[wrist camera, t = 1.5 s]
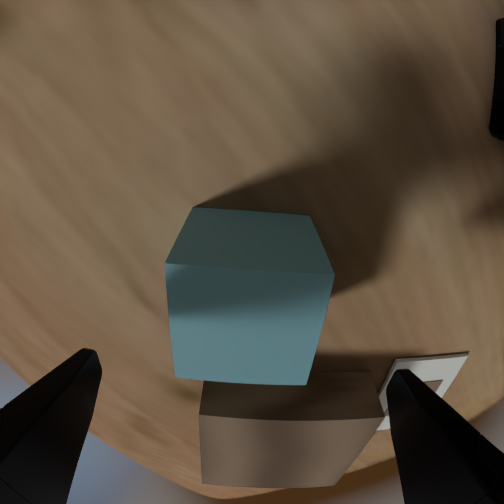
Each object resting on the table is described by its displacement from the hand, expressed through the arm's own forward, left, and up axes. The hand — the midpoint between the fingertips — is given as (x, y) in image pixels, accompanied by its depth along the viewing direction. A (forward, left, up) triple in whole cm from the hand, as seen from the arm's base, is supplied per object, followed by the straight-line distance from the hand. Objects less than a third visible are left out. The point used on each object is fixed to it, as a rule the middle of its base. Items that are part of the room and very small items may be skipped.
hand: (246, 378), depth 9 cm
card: (-12, +10, -7) cm, 17 cm away
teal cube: (0, 0, -7) cm, 7 cm away
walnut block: (-3, +12, -7) cm, 14 cm away
